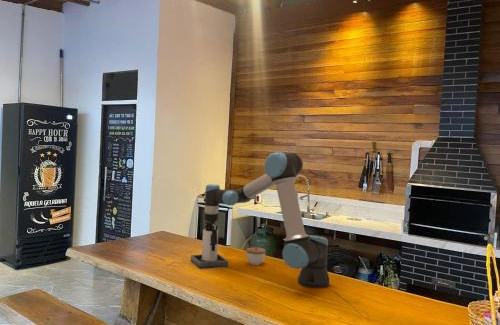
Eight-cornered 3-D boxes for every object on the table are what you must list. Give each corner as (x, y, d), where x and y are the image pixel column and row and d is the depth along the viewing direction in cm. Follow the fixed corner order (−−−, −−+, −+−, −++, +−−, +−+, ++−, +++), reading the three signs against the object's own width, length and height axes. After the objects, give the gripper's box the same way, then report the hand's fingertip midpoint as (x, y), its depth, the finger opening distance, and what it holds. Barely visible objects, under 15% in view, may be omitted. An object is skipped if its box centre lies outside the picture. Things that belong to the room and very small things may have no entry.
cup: (216, 261, 228) (217, 231, 227) (200, 260, 228) (202, 230, 228) (217, 257, 236) (218, 228, 236) (202, 256, 236) (204, 228, 236)
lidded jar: (257, 267, 230) (258, 250, 229) (241, 263, 236) (242, 246, 236) (268, 263, 238) (269, 247, 238) (253, 259, 245) (254, 243, 244)
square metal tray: (228, 266, 228) (228, 261, 228) (199, 268, 222) (199, 263, 222) (217, 258, 243) (218, 253, 243) (190, 260, 236) (190, 255, 236)
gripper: (224, 216, 223) (222, 259, 224) (211, 210, 242) (209, 249, 243) (211, 216, 220) (209, 260, 221) (198, 210, 239) (197, 250, 240)
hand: (209, 254), depth 232 cm, fingers closed on cup, 8 cm apart
